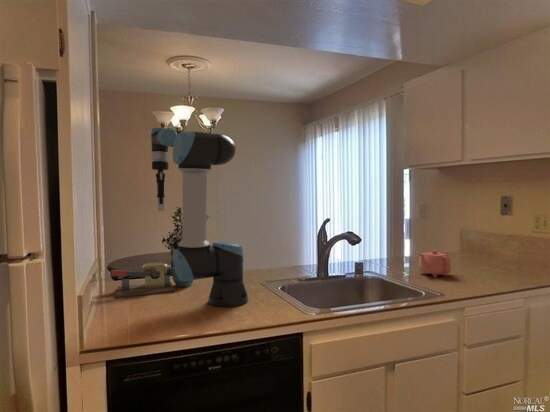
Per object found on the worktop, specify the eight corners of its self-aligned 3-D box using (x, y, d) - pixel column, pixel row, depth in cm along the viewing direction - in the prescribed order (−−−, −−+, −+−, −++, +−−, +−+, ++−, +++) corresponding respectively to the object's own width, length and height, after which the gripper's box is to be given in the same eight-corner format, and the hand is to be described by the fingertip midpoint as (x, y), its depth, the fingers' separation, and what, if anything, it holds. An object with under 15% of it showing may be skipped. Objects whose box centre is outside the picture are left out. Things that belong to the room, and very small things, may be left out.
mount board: (174, 292, 156) (174, 289, 156) (116, 298, 148) (116, 295, 148) (170, 283, 171) (170, 281, 171) (117, 288, 163) (117, 286, 163)
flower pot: (189, 288, 162) (188, 268, 162) (170, 287, 164) (170, 268, 164) (197, 283, 171) (196, 264, 170) (179, 282, 172) (179, 264, 172)
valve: (171, 287, 160) (171, 265, 160) (117, 292, 152) (117, 269, 152) (170, 283, 168) (169, 261, 168) (118, 287, 160) (118, 265, 160)
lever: (159, 279, 155) (160, 270, 155) (110, 278, 148) (111, 268, 148) (159, 278, 157) (160, 269, 157) (110, 277, 150) (111, 267, 150)
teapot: (418, 277, 181) (418, 252, 180) (418, 270, 196) (418, 247, 196) (451, 279, 175) (451, 253, 175) (449, 272, 190) (449, 248, 190)
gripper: (169, 160, 167) (170, 211, 167) (167, 162, 179) (168, 210, 180) (152, 159, 164) (153, 211, 165) (151, 162, 176) (152, 210, 177)
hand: (161, 210), depth 172 cm, fingers closed
